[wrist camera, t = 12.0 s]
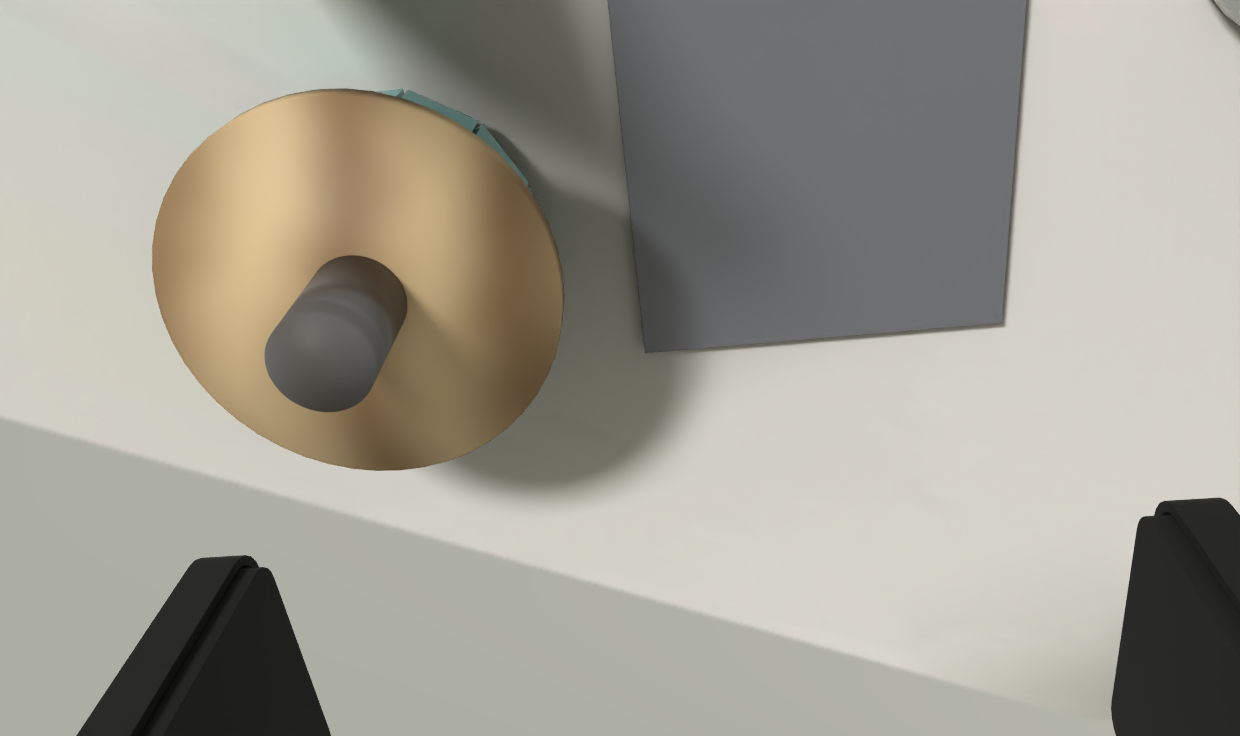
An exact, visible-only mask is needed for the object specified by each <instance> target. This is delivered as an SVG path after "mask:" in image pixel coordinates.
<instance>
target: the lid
mask: <svg viewBox="0 0 1240 736" xmlns="http://www.w3.org/2000/svg"><path fill="white" fill-rule="evenodd" d="M152 271H153V278H154V285H155V293H156V297H157V301H158V304H159V308H160V311H161V315H162V318H163V321H164V323H165V326H166V328H167V330H168V333H169V335H170V337H171V340H172V342H173V344H174V345H175V347H176V349H177V351H178V352H179V354H180V356H181V358H182V359H183V361H184V363H185V364H186V366H187V367H188V368H189V370H190V371H191V372H192V374H193V375H194V376H195V378H196V379H197V380H198V382H199V383H200V384H201V385H202V387H203V388H204V389H205V390H206V391H207V392H208V393H209V394H210V395H211V396H212V397H213V398H214V399H215V400H216V402H217V403H219V404H220V405H221V406H222V407H223V408H224V409H225V410H227V411H228V412H229V413H230V414H231V415H232V416H234V417H235V418H236V419H237V420H238V421H240V422H241V423H243V424H244V425H246V426H247V427H249V428H250V429H251V430H253V431H254V432H256V433H257V434H259V435H261V436H262V437H264V438H266V439H268V440H270V441H271V442H273V443H275V444H277V445H279V446H281V447H283V448H285V449H288V450H290V451H292V452H295V453H297V454H299V455H302V456H304V457H308V458H311V459H314V460H317V461H321V462H324V463H327V464H332V465H337V466H342V467H347V468H352V469H364V470H375V471H384V470H406V469H413V468H420V467H426V466H430V465H434V464H438V463H442V462H446V461H449V460H451V459H454V458H456V457H459V456H461V455H464V454H467V453H469V452H471V451H473V450H474V449H476V448H478V447H480V446H482V445H484V444H485V443H487V442H489V441H490V440H492V439H493V438H494V437H496V436H497V435H498V434H500V433H501V432H503V431H504V430H505V429H507V428H508V427H509V426H510V425H511V424H512V423H513V422H514V421H515V420H516V419H517V418H518V417H519V416H520V415H521V414H522V413H523V412H524V411H525V409H526V408H527V407H528V405H529V404H530V403H531V401H532V400H533V399H534V398H535V396H536V395H537V393H538V391H539V390H540V388H541V386H542V384H543V382H544V381H545V379H546V377H547V375H548V373H549V370H550V367H551V365H552V362H553V360H554V357H555V354H556V350H557V345H558V341H559V336H560V332H561V326H562V320H563V306H564V286H563V273H562V268H561V263H560V258H559V254H558V249H557V246H556V243H555V240H554V237H553V235H552V232H551V229H550V226H549V224H548V222H547V220H546V218H545V216H544V214H543V212H542V210H541V208H540V206H539V204H538V202H537V201H536V199H535V197H534V196H533V195H532V193H531V192H530V190H529V189H528V187H527V186H526V184H525V183H524V182H523V180H522V179H521V177H520V176H519V175H518V174H517V173H516V172H515V171H514V169H513V168H512V167H511V166H510V165H509V164H508V163H507V162H506V161H505V160H504V158H503V157H502V156H501V155H500V154H498V153H497V152H496V151H495V150H494V149H493V148H491V147H490V146H489V145H488V144H487V143H486V142H485V141H483V140H482V139H481V138H480V137H479V136H477V135H476V134H474V133H473V132H471V131H470V130H468V129H467V128H465V127H464V126H462V125H461V124H459V123H458V122H456V121H454V120H452V119H451V118H449V117H447V116H445V115H443V114H441V113H439V112H437V111H435V110H433V109H431V108H429V107H426V106H423V105H420V104H418V103H415V102H412V101H409V100H407V99H404V98H401V97H396V96H392V95H387V94H383V93H379V92H374V91H365V90H355V89H319V90H311V91H305V92H300V93H294V94H289V95H286V96H283V97H279V98H276V99H273V100H270V101H267V102H264V103H262V104H260V105H258V106H256V107H254V108H252V109H250V110H248V111H246V112H244V113H242V114H240V115H239V116H237V117H236V118H234V119H233V120H232V121H230V122H229V123H227V124H226V125H224V126H223V127H222V128H220V129H219V130H217V131H216V132H215V133H213V134H212V135H211V136H209V137H208V138H207V139H206V140H205V141H204V142H203V143H202V144H201V145H200V146H199V147H198V148H197V149H196V150H195V151H194V152H193V153H192V154H191V155H190V156H189V157H188V158H187V160H186V161H185V162H184V164H183V165H182V167H181V168H180V169H179V171H178V172H177V173H176V175H175V176H174V178H173V180H172V182H171V184H170V186H169V188H168V190H167V192H166V194H165V196H164V198H163V202H162V205H161V208H160V211H159V214H158V217H157V220H156V226H155V232H154V239H153V245H152Z"/></svg>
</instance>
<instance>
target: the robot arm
mask: <svg viewBox="0 0 1240 736" xmlns="http://www.w3.org/2000/svg"><path fill="white" fill-rule="evenodd" d="M1214 1H1215V3H1216V4H1217V5H1218V7H1219V8H1220V9H1221V10H1222V12H1223V13H1224V14H1225V15H1226V16H1227V17H1228V18H1230V19H1231V20H1232V21H1234V22H1235V23H1236V24H1237V25H1239V26H1240V0H1214ZM1111 711H1112V720H1113V726H1114V730H1115V733H1116V736H1240V515H1239V514H1238V512H1237V511H1236V510H1235V509H1234V507H1233V506H1232V505H1231V504H1230V503H1229V502H1228V501H1227V500H1225V499H1222V498H1208V499H1191V500H1174V501H1164V502H1161V503H1160V504H1159V505H1158V507H1157V508H1156V511H1155V515H1154V516H1145V517H1142V518H1141V519H1140V521H1139V523H1138V527H1137V532H1136V539H1135V546H1134V553H1133V559H1132V566H1131V573H1130V580H1129V587H1128V594H1127V600H1126V607H1125V614H1124V621H1123V628H1122V635H1121V641H1120V648H1119V655H1118V662H1117V669H1116V675H1115V682H1114V689H1113V696H1112V705H1111ZM77 736H331V735H330V731H329V728H328V725H327V723H326V720H325V717H324V714H323V712H322V709H321V706H320V703H319V700H318V698H317V695H316V692H315V690H314V687H313V684H312V681H311V678H310V676H309V673H308V671H307V668H306V665H305V662H304V659H303V656H302V654H301V651H300V648H299V645H298V643H297V640H296V637H295V634H294V632H293V629H292V626H291V624H290V620H289V618H288V615H287V613H286V609H285V607H284V604H283V601H282V598H281V596H280V593H279V590H278V588H277V585H276V582H275V579H274V577H273V575H272V573H271V571H270V570H269V569H268V568H264V567H260V568H259V566H258V564H257V562H256V561H255V560H254V559H253V558H252V557H251V556H246V555H243V556H226V557H209V558H200V559H197V560H195V561H194V562H193V563H192V564H191V565H190V566H189V568H188V569H187V571H186V572H185V574H184V575H183V577H182V578H181V580H180V581H179V583H178V584H177V586H176V587H175V589H174V590H173V592H172V593H171V595H170V596H169V598H168V599H167V601H166V602H165V604H164V605H163V607H162V608H161V610H160V611H159V613H158V614H157V616H156V617H155V619H154V620H153V622H152V623H151V625H150V626H149V628H148V629H147V631H146V632H145V634H144V635H143V637H142V638H141V640H140V641H139V643H138V644H137V646H136V647H135V649H134V650H133V652H132V653H131V655H130V656H129V658H128V659H127V661H126V662H125V664H124V665H123V667H122V668H121V670H120V671H119V673H118V674H117V676H116V677H115V679H114V680H113V682H112V683H111V685H110V686H109V688H108V689H107V691H106V692H105V694H104V695H103V697H102V698H101V700H100V701H99V703H98V704H97V706H96V707H95V709H94V710H93V712H92V713H91V715H90V716H89V718H88V719H87V721H86V723H85V724H84V725H83V727H82V728H81V730H80V731H79V733H78V734H77Z"/></svg>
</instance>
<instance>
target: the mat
mask: <svg viewBox="0 0 1240 736" xmlns="http://www.w3.org/2000/svg"><path fill="white" fill-rule="evenodd" d="M1026 1H1027V0H608V9H609V18H610V27H611V37H612V46H613V55H614V65H615V74H616V83H617V93H618V102H619V111H620V121H621V130H622V139H623V149H624V158H625V167H626V177H627V186H628V195H629V205H630V214H631V224H632V233H633V242H634V252H635V261H636V270H637V280H638V289H639V298H640V308H641V317H642V326H643V336H644V345H645V353H650V352H662V351H674V350H686V349H698V348H710V347H721V346H733V345H745V344H757V343H769V342H781V341H793V340H805V339H816V338H828V337H840V336H852V335H864V334H876V333H888V332H900V331H911V330H923V329H935V328H947V327H959V326H971V325H983V324H995V323H1002V313H1003V300H1004V287H1005V274H1006V261H1007V248H1008V235H1009V222H1010V209H1011V196H1012V183H1013V170H1014V157H1015V144H1016V131H1017V118H1018V105H1019V92H1020V79H1021V66H1022V53H1023V40H1024V27H1025V14H1026Z"/></svg>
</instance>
